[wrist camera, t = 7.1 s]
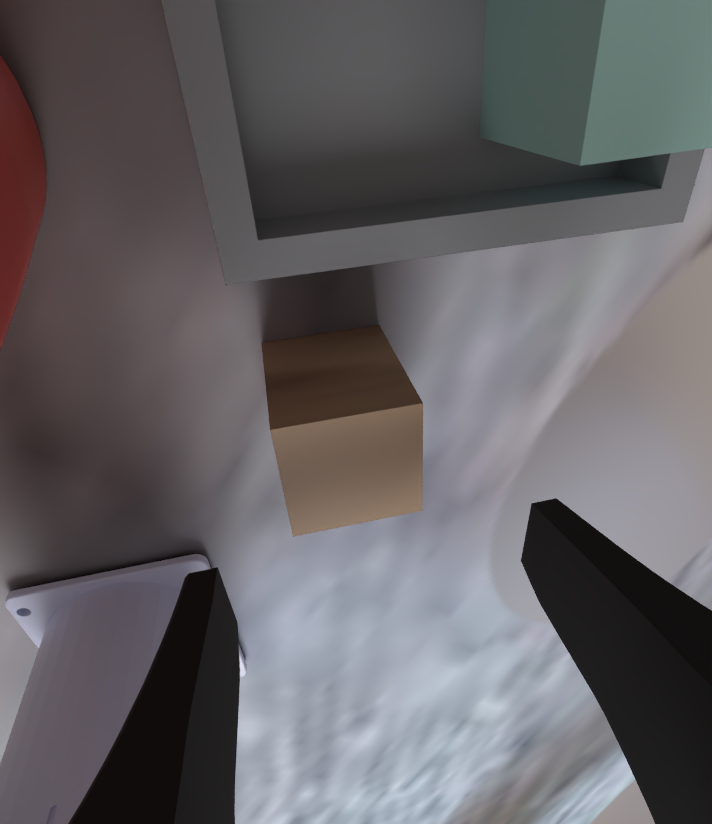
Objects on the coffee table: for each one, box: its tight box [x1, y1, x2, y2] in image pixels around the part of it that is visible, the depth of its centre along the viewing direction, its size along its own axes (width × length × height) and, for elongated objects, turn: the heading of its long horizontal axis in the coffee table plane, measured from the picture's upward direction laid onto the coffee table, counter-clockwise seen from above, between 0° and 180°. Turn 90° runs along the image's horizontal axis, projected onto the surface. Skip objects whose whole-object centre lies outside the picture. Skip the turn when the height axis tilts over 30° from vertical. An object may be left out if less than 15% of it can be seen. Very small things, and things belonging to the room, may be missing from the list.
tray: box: [161, 0, 704, 285], centre depth 12 cm, size 9×13×2 cm
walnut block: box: [262, 325, 423, 536], centre depth 16 cm, size 4×4×5 cm
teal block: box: [480, 0, 712, 166], centre depth 11 cm, size 4×4×5 cm
